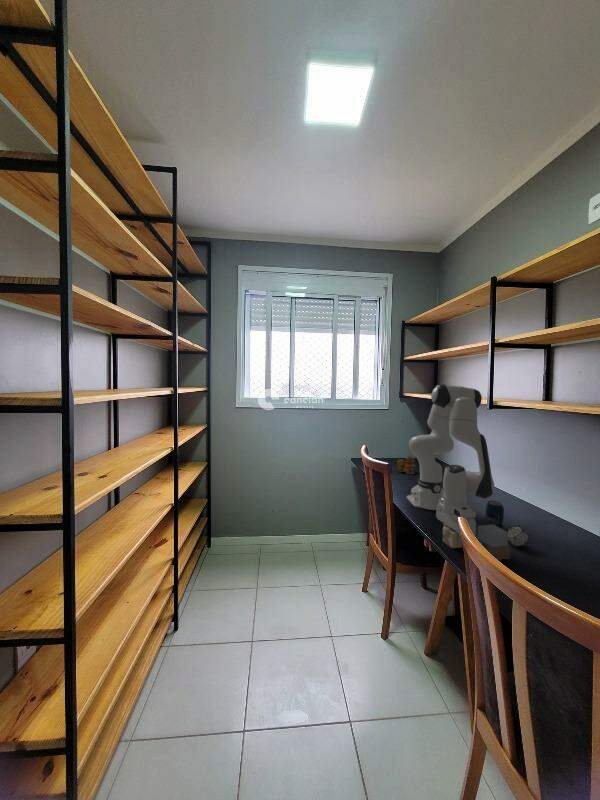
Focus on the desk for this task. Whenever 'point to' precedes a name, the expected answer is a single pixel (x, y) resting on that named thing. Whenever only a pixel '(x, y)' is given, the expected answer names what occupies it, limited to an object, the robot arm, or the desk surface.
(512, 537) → the game die
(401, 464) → the stuffed squirrel
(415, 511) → the desk surface
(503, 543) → the slate block
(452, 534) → the maple block
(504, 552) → the walnut plinth
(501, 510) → the soda can
